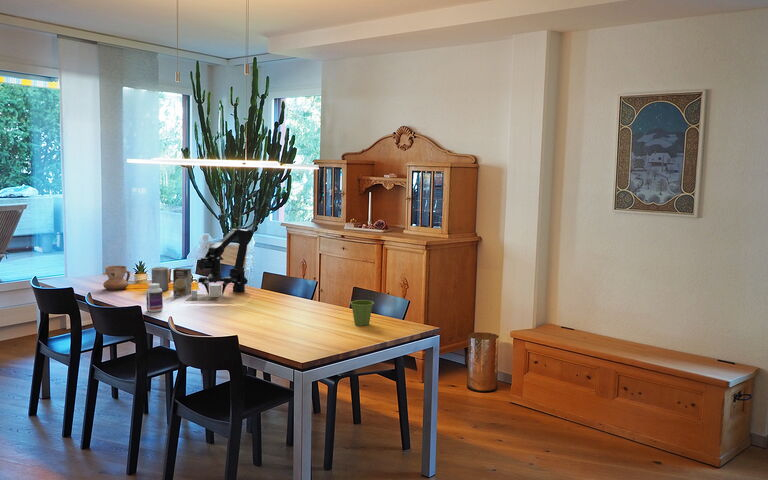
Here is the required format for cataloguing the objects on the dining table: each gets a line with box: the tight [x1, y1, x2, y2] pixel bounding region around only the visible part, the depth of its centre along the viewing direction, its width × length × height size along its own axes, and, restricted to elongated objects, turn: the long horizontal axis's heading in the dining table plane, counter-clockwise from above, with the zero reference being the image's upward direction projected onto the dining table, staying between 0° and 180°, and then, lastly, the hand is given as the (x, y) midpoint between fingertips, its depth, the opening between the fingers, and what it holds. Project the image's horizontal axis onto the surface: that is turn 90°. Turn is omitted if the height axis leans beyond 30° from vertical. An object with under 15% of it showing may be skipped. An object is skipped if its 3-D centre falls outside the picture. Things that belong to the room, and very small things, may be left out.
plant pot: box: [349, 299, 375, 327], centre depth 330 cm, size 12×12×11 cm
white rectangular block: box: [209, 283, 222, 297], centre depth 389 cm, size 5×5×7 cm
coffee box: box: [172, 267, 192, 297], centre depth 394 cm, size 9×6×16 cm
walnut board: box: [184, 293, 224, 302], centre depth 384 cm, size 18×20×1 cm
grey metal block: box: [191, 289, 198, 299], centre depth 379 cm, size 3×3×5 cm
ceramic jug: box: [102, 264, 131, 291], centre depth 410 cm, size 18×14×14 cm
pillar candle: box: [151, 266, 170, 292], centre depth 409 cm, size 10×10×15 cm
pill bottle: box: [145, 283, 164, 313], centre depth 352 cm, size 8×8×14 cm
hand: (215, 294), depth 389 cm, fingers open, 8 cm apart
